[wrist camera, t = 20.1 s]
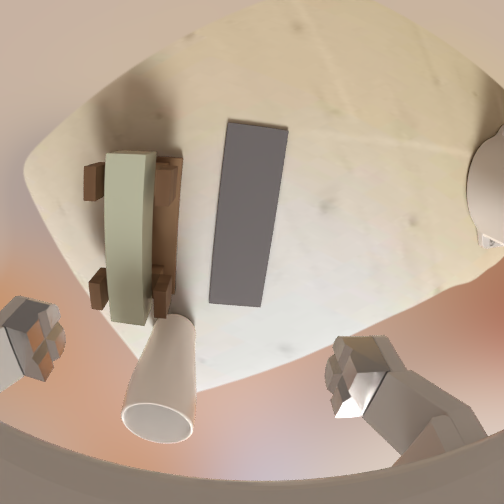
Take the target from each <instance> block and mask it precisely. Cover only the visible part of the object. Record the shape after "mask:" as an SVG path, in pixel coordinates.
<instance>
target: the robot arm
mask: <svg viewBox="0 0 504 504" xmlns="http://www.w3.org/2000/svg"><path fill="white" fill-rule="evenodd" d="M467 202H468V208H469V212H470V215H471V218H472V220H473V222H474V224H475V226H476V228H477V234H478V242H479V245H480V246H481V247H483V248H493V247H500V246H504V125H503V126H501V128H500V129H499V131H498V132H497V134H496V135H495V136H494V137H492V138H490V139H488V140H486V141H485V142H484V143H483V144H482V145H481V146H480V147H479V149H478V150H477V152H476V154H475V156H474V158H473V160H472V163H471V166H470V170H469V175H468V182H467ZM60 317H61V316H60V312H59V309H58V307H57V306H56V305H55V304H52V303H48V302H44V301H40V300H36V299H32V298H27V297H23V296H15V297H14V298H13V299H12V300H11V301H10V302H9V303H8V304H7V305H6V306H5V307H4V308H3V309H2V310H1V311H0V393H1V392H2V391H3V390H5V389H6V388H8V387H9V386H11V385H12V384H13V383H15V382H17V381H18V380H19V379H21V378H22V377H24V375H25V376H28V377H31V378H34V379H37V380H40V381H44V382H45V381H46V380H47V378H48V376H49V375H50V373H51V371H52V370H53V368H54V365H53V361H55V360H56V359H58V358H60V357H61V355H62V353H63V352H64V347H65V343H66V340H65V332H64V329H63V327H62V326H61V325H60V324H59V322H58V321H59V319H60ZM333 350H334V353H335V354H334V355H332V356H331V357H330V358H329V359H328V361H327V364H326V369H325V383H326V387H327V389H328V390H329V391H330V392H331V393H332V394H333V396H332V398H331V404H332V407H333V411H334V414H335V418H341V417H358V416H363V417H362V418H363V419H364V420H365V421H366V422H367V423H368V424H369V425H371V427H372V428H373V429H374V430H376V431H377V432H378V433H379V434H380V435H381V436H382V437H383V438H384V439H385V440H386V441H387V442H388V443H389V444H390V445H391V446H392V447H393V448H394V449H395V450H396V451H397V452H398V453H399V454H401V455H402V456H401V457H400V458H399V459H398V460H397V461H396V462H395V463H394V464H393V466H392V467H389V468H385V469H380V470H375V471H369V472H364V473H358V474H351V475H344V476H336V477H327V478H317V479H304V480H287V481H239V480H220V479H208V478H197V477H188V476H181V475H173V474H167V473H160V472H155V471H149V470H144V469H139V468H134V467H130V466H125V465H120V464H117V463H113V462H109V461H105V460H101V459H98V458H94V457H90V456H87V455H84V454H81V453H78V452H75V451H72V450H69V449H66V448H63V447H60V446H57V445H55V444H52V443H49V442H46V441H44V440H42V439H39V438H37V437H34V436H32V435H30V434H27V433H25V432H23V431H20V430H18V429H16V428H14V427H12V426H10V425H8V424H6V423H3V422H2V421H0V504H504V430H502V431H499V432H497V433H495V434H493V435H490V436H487V434H486V432H485V431H484V429H483V427H482V425H481V424H480V422H479V420H478V419H477V417H476V415H475V414H474V412H473V410H472V409H471V407H470V406H468V405H466V404H465V403H463V402H461V401H460V400H458V399H457V398H455V397H453V396H452V395H450V394H449V393H447V392H445V391H444V390H442V389H441V388H439V387H437V386H436V385H434V384H433V383H431V382H430V381H428V380H426V379H425V378H423V377H422V376H420V375H419V374H417V373H415V372H414V371H412V370H407V369H406V367H405V365H404V364H403V362H402V361H401V359H400V357H399V356H398V354H397V352H396V350H395V349H394V347H393V345H392V344H391V342H390V340H389V339H388V337H386V336H384V335H380V336H365V337H364V336H338V337H337V338H336V340H335V341H334V344H333Z"/></svg>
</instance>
